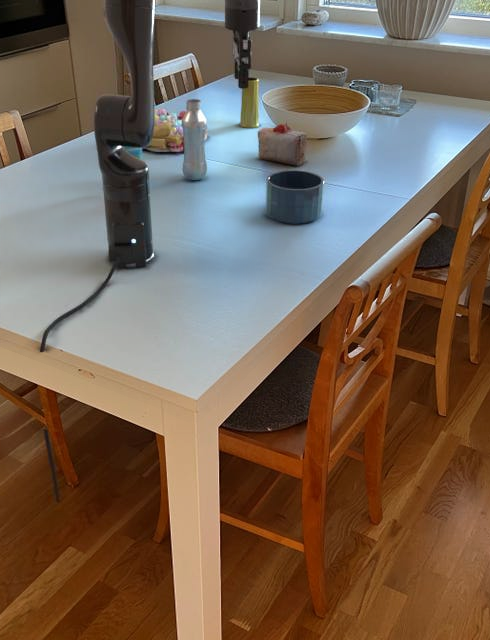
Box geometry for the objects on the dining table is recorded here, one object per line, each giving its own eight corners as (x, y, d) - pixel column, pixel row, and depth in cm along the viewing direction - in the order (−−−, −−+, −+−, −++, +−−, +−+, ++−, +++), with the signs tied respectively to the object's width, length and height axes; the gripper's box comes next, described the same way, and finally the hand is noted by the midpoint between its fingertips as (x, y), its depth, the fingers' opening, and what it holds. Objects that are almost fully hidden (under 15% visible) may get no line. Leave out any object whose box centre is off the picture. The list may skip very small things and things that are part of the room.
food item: (252, 159, 209) (253, 124, 203) (266, 152, 215) (267, 117, 209) (296, 168, 203) (298, 132, 198) (308, 160, 209) (311, 124, 203)
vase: (236, 123, 238) (237, 77, 230) (253, 121, 240) (254, 75, 232) (245, 129, 233) (246, 81, 225) (262, 126, 235) (263, 80, 227)
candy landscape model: (196, 157, 210) (196, 124, 205) (116, 152, 213) (113, 120, 208) (211, 131, 231) (211, 101, 226) (138, 127, 234) (136, 97, 229)
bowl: (326, 224, 171) (329, 189, 167) (269, 226, 170) (271, 190, 166) (315, 202, 182) (317, 169, 178) (262, 204, 181) (263, 170, 177)
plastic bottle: (178, 180, 195) (175, 102, 184) (190, 172, 200) (189, 96, 189) (199, 184, 192) (198, 105, 181) (211, 176, 197) (211, 99, 186)
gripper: (222, -1, 164) (221, 76, 173) (228, 10, 152) (227, 91, 161) (255, -1, 164) (253, 75, 173) (264, 9, 153) (261, 91, 162)
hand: (241, 83), depth 167 cm, fingers open, 8 cm apart
